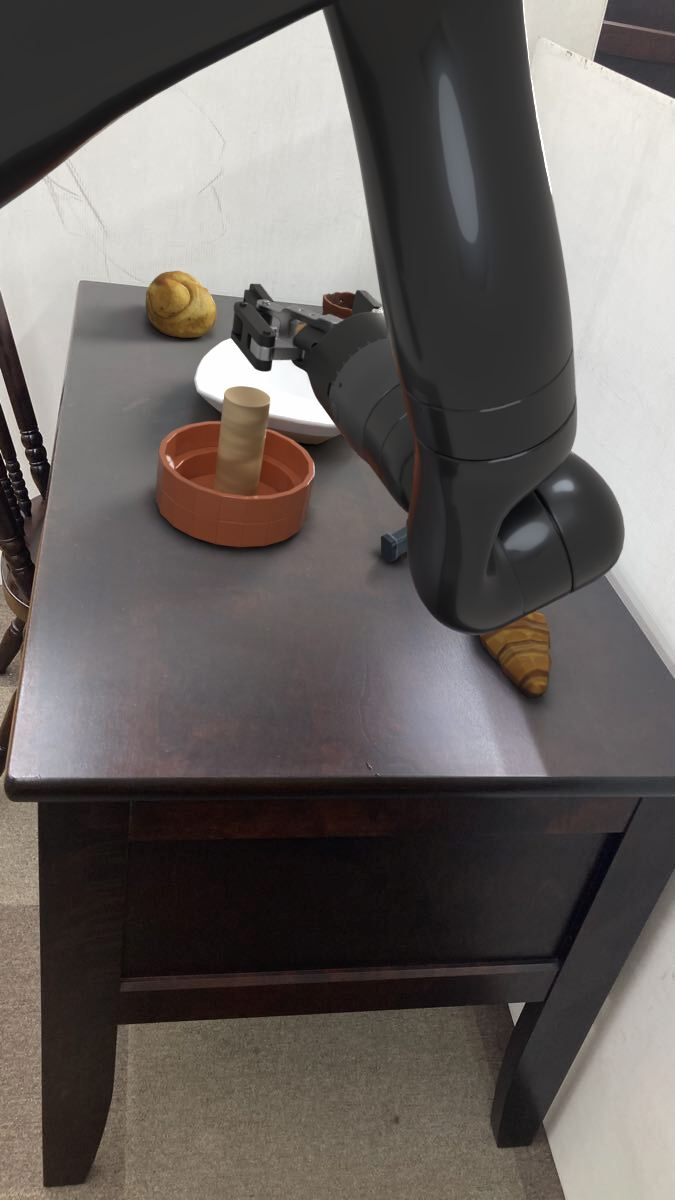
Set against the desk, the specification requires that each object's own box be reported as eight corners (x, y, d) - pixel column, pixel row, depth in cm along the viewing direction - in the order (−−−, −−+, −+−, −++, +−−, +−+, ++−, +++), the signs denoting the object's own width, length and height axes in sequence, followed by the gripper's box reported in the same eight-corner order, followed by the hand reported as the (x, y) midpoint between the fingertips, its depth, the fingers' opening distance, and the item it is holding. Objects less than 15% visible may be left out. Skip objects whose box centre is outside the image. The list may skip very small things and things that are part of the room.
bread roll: (139, 305, 130) (142, 249, 126) (206, 310, 133) (211, 256, 129) (147, 340, 121) (150, 282, 116) (219, 346, 124) (224, 288, 119)
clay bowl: (173, 556, 83) (178, 501, 79) (142, 472, 94) (145, 421, 90) (325, 547, 89) (336, 496, 85) (279, 469, 99) (287, 420, 96)
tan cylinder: (217, 517, 88) (230, 406, 81) (207, 493, 92) (219, 385, 84) (260, 515, 90) (276, 407, 83) (248, 492, 93) (263, 386, 86)
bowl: (378, 402, 118) (387, 365, 115) (357, 478, 101) (367, 436, 98) (220, 365, 119) (224, 327, 116) (172, 434, 101) (175, 392, 98)
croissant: (571, 702, 77) (591, 659, 74) (499, 705, 75) (517, 660, 72) (512, 604, 87) (528, 562, 84) (448, 604, 85) (461, 561, 82)
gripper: (500, 342, 57) (400, 255, 68) (290, 334, 51) (220, 241, 63) (469, 446, 61) (380, 349, 73) (272, 449, 56) (210, 343, 67)
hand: (306, 299), depth 68 cm, fingers open, 8 cm apart
